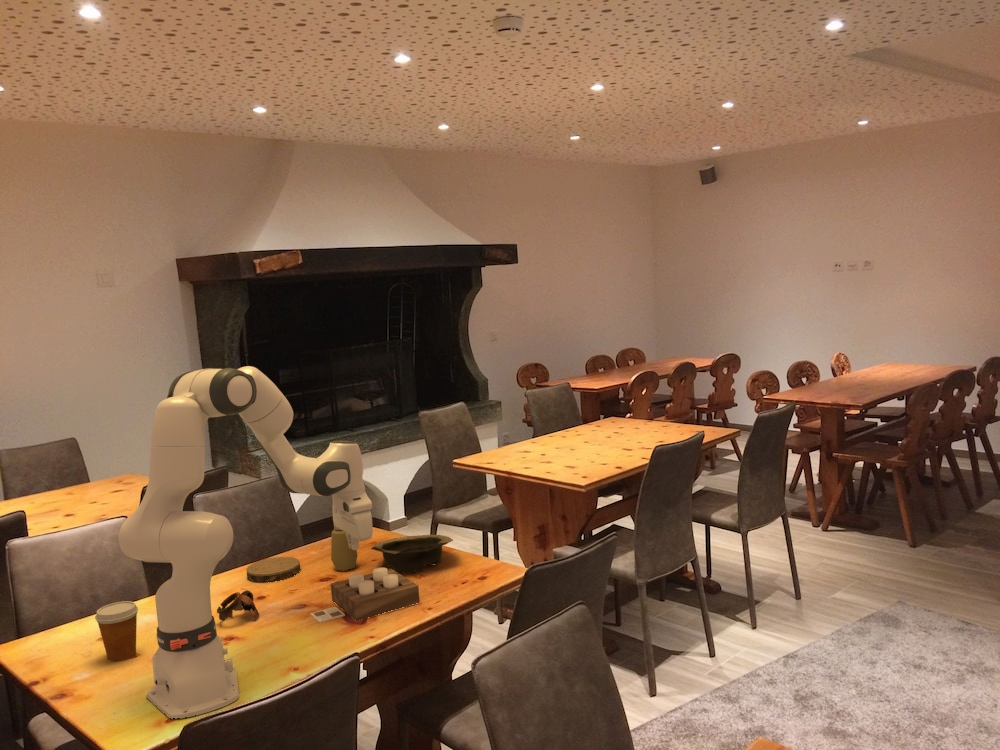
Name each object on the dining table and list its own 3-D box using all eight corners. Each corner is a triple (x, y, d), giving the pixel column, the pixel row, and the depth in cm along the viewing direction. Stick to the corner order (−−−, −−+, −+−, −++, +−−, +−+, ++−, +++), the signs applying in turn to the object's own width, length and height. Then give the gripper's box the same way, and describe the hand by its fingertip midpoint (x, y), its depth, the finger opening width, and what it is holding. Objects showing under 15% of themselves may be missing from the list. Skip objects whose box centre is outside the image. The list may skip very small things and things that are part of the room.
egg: (367, 594, 222) (365, 576, 222) (353, 597, 220) (351, 579, 220) (361, 589, 226) (360, 572, 225) (348, 593, 224) (346, 575, 223)
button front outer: (401, 594, 220) (400, 576, 219) (388, 598, 218) (386, 580, 217) (395, 590, 223) (394, 572, 223) (382, 594, 221) (380, 576, 221)
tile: (345, 615, 214) (344, 614, 214) (319, 623, 210) (319, 621, 210) (335, 608, 220) (335, 606, 220) (310, 614, 216) (310, 613, 216)
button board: (419, 603, 219) (418, 585, 218) (356, 621, 210) (354, 602, 209) (392, 585, 234) (390, 568, 234) (332, 601, 225) (330, 583, 224)
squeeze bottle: (356, 571, 248) (350, 514, 246) (329, 573, 248) (324, 515, 246) (360, 563, 256) (355, 506, 254) (335, 564, 256) (329, 508, 254)
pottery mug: (255, 627, 212) (236, 604, 209) (227, 642, 214) (207, 619, 211) (269, 599, 223) (251, 576, 221) (242, 613, 225) (223, 591, 223)
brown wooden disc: (254, 588, 241) (253, 578, 241) (241, 573, 255) (240, 564, 254) (307, 575, 249) (306, 566, 248) (292, 562, 262) (291, 553, 262)
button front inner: (377, 601, 216) (375, 583, 216) (363, 605, 214) (361, 586, 214) (371, 597, 220) (370, 579, 219) (357, 600, 218) (356, 582, 217)
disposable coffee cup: (115, 667, 192) (109, 618, 191) (92, 660, 197) (86, 612, 196) (151, 651, 200) (146, 603, 199) (127, 644, 205) (122, 598, 204)
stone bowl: (405, 583, 234) (400, 552, 234) (359, 572, 253) (355, 542, 253) (471, 559, 250) (467, 529, 250) (424, 550, 269) (420, 522, 269)
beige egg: (391, 587, 226) (389, 570, 225) (377, 591, 224) (376, 573, 223) (385, 583, 229) (383, 566, 229) (371, 587, 227) (370, 569, 227)
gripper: (324, 494, 227) (329, 542, 229) (352, 508, 210) (357, 560, 212) (346, 489, 231) (350, 537, 232) (374, 503, 213) (379, 555, 215)
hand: (354, 548), depth 222 cm, fingers closed
